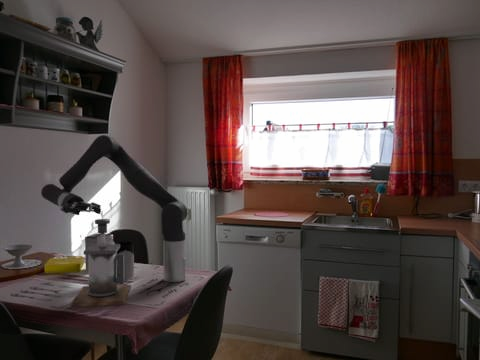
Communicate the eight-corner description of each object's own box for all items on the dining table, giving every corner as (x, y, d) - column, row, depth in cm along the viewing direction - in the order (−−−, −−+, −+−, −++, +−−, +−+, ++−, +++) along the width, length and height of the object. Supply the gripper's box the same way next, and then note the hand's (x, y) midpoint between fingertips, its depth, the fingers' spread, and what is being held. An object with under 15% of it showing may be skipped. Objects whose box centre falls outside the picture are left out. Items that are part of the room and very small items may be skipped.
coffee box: (96, 266, 194) (95, 233, 193) (108, 267, 193) (108, 233, 192) (85, 271, 185) (84, 236, 184) (97, 272, 184) (97, 237, 183)
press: (126, 287, 158) (125, 243, 157) (121, 297, 147) (121, 250, 146) (91, 288, 156) (90, 244, 155) (84, 298, 145) (83, 251, 145)
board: (130, 288, 162) (130, 284, 162) (124, 304, 144) (124, 300, 144) (83, 290, 159) (83, 286, 159) (71, 306, 142) (71, 302, 142)
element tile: (43, 275, 181) (43, 264, 180) (51, 266, 195) (50, 256, 195) (79, 273, 184) (79, 262, 184) (84, 264, 199) (84, 254, 199)
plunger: (111, 248, 154) (110, 218, 153) (108, 251, 149) (108, 220, 148) (96, 248, 153) (96, 219, 152) (93, 251, 148) (93, 221, 147)
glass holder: (114, 281, 171) (114, 246, 170) (113, 272, 184) (112, 239, 183) (136, 279, 174) (135, 244, 173) (133, 270, 187) (132, 238, 186)
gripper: (54, 194, 162) (72, 203, 151) (88, 193, 172) (107, 201, 161) (52, 212, 163) (70, 222, 152) (86, 210, 173) (105, 220, 162)
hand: (89, 211), depth 157 cm, fingers open, 8 cm apart
